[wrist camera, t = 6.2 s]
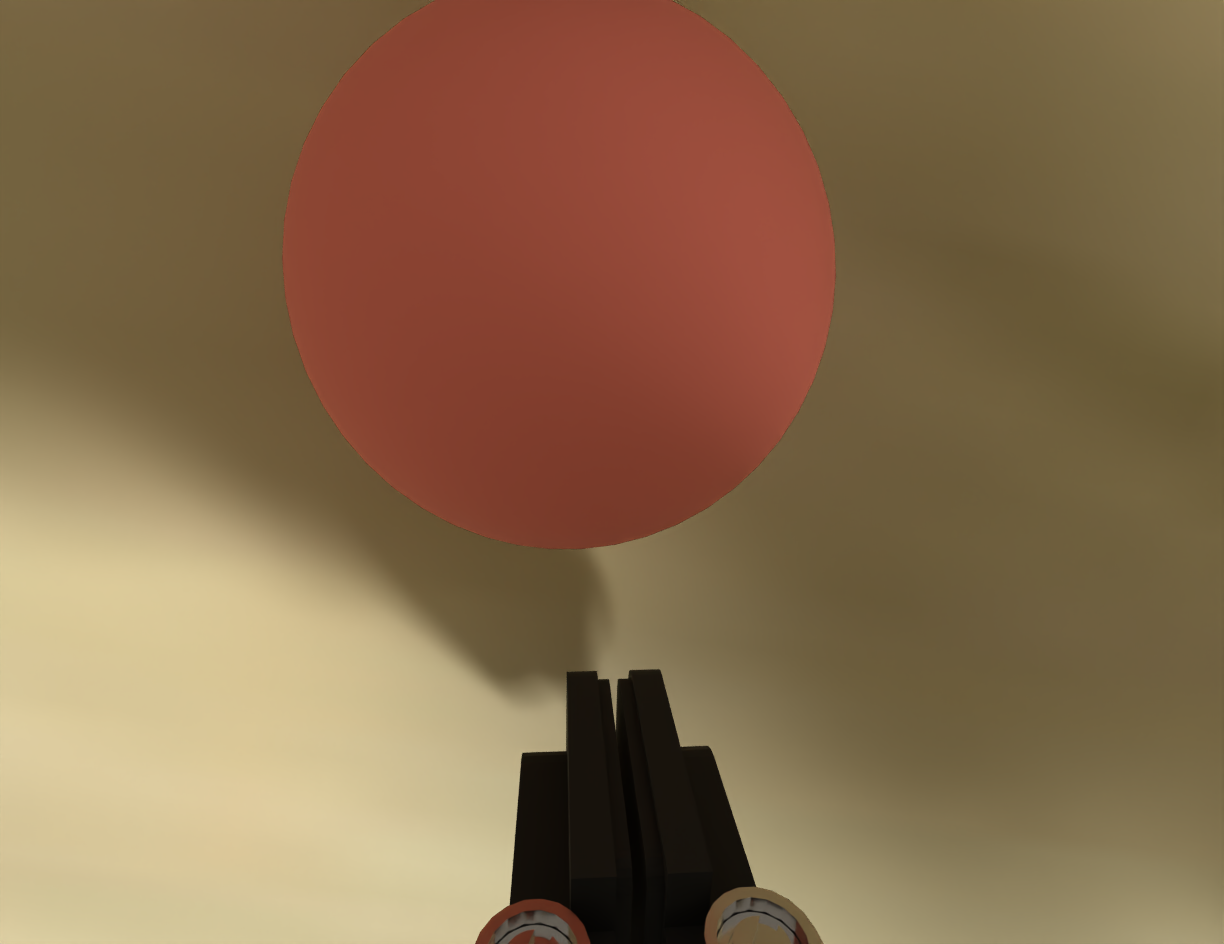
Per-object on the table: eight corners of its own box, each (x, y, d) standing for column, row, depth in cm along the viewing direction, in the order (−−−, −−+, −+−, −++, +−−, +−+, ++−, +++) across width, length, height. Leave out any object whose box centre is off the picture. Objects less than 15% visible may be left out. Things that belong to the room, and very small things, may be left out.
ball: (948, -310, 4) (718, 84, 10) (-19, -171, 4) (339, 147, 10) (990, 571, 5) (764, 452, 11) (269, 715, 5) (430, 515, 11)
